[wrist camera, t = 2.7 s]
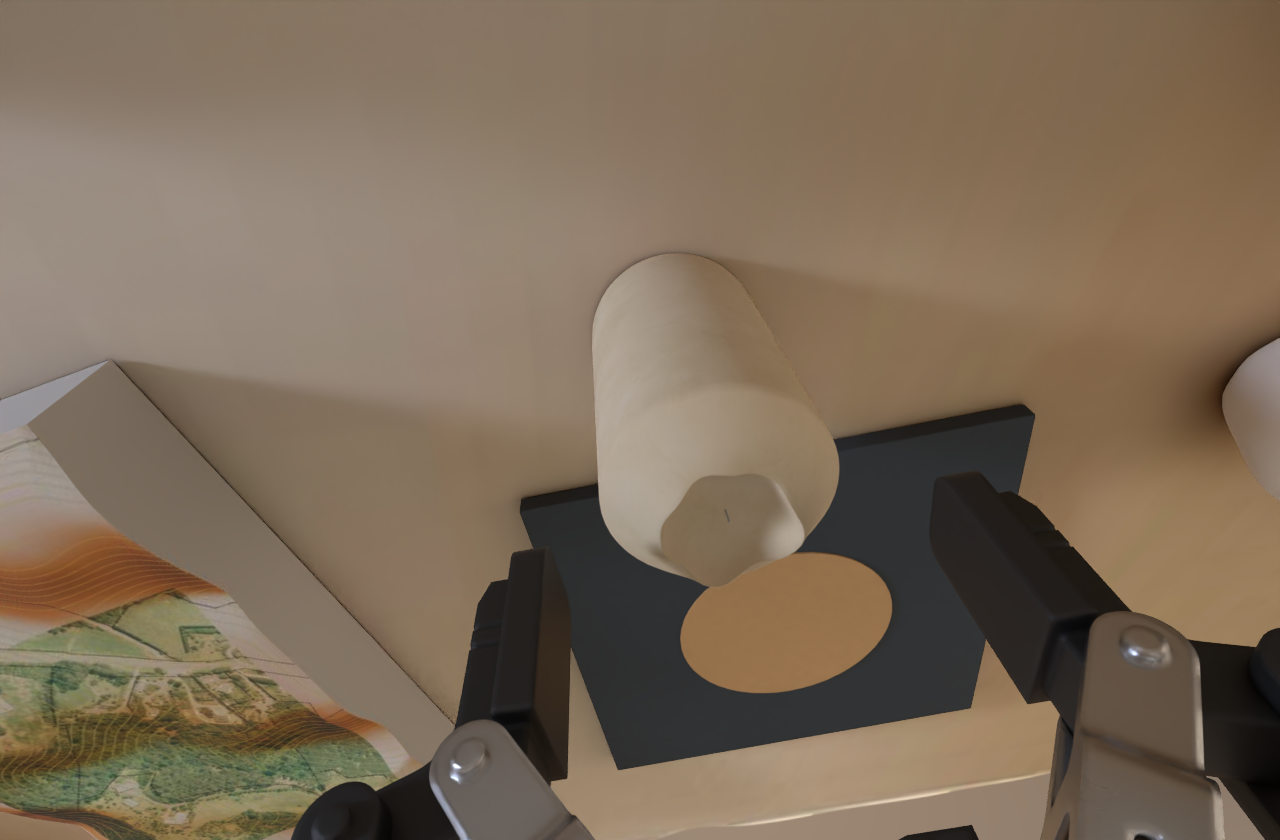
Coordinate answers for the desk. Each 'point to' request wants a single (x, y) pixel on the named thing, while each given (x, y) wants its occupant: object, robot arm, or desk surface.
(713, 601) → the mat
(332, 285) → the desk surface
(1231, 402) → the plain white apple
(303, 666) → the topographic model
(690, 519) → the candle
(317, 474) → the desk surface
